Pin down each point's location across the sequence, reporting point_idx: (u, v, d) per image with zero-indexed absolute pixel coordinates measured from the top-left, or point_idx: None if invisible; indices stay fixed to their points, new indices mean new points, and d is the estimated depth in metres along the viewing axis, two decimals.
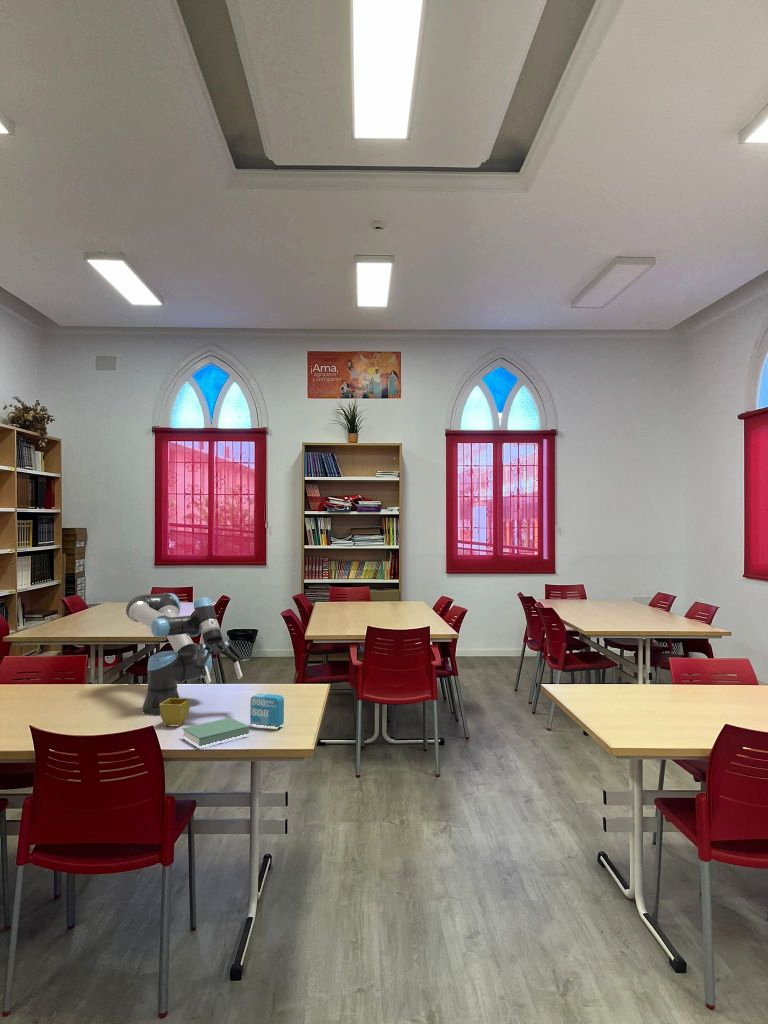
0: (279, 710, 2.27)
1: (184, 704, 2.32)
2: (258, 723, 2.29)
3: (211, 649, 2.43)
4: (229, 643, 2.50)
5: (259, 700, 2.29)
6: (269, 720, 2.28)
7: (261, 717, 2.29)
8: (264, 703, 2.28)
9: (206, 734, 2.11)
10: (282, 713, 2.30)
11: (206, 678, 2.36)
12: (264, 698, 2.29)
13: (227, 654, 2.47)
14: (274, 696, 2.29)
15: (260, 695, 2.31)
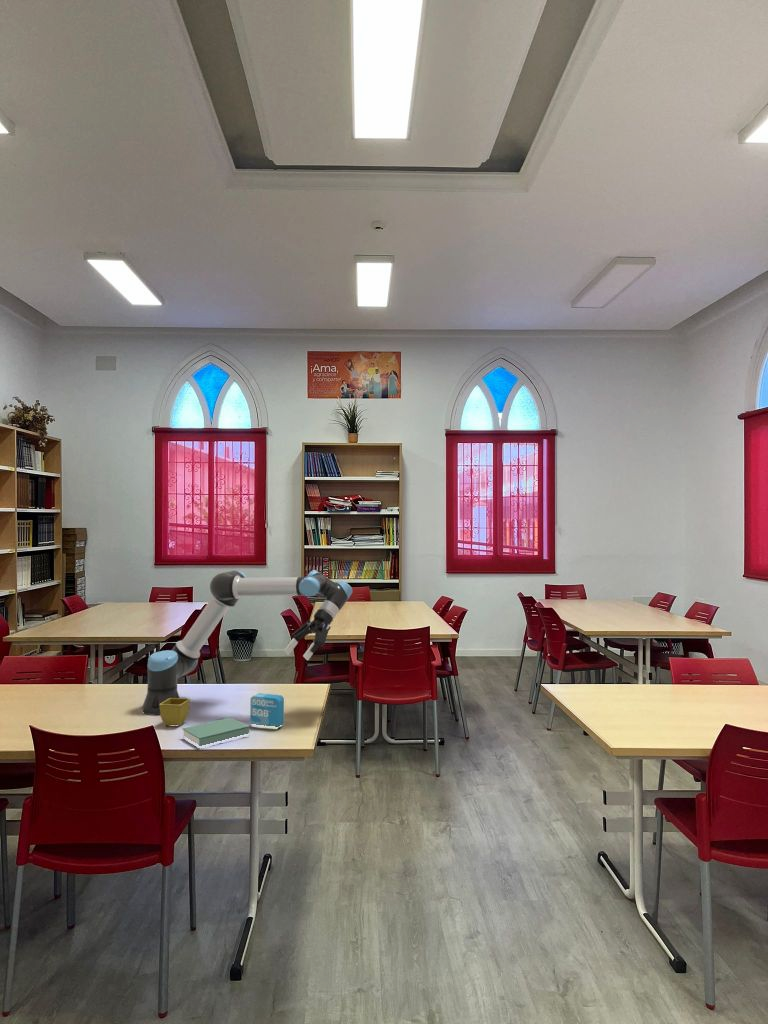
0: (279, 710, 2.27)
1: (184, 704, 2.32)
2: (258, 723, 2.29)
3: None
4: None
5: (259, 700, 2.29)
6: (269, 720, 2.28)
7: (261, 717, 2.29)
8: (264, 703, 2.28)
9: (206, 734, 2.11)
10: (282, 713, 2.30)
11: (308, 653, 2.35)
12: (264, 698, 2.29)
13: (305, 633, 2.48)
14: (274, 696, 2.29)
15: (260, 695, 2.31)
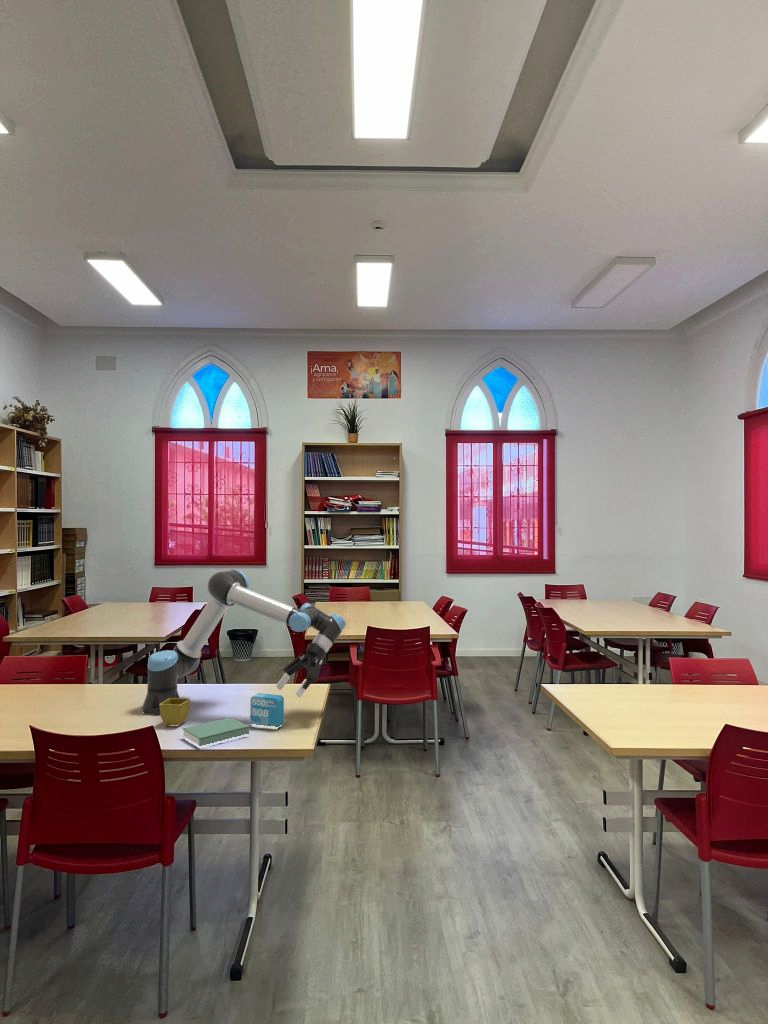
0: (279, 710, 2.27)
1: (184, 704, 2.32)
2: (258, 723, 2.29)
3: None
4: None
5: (259, 700, 2.29)
6: (269, 720, 2.28)
7: (261, 717, 2.29)
8: (264, 703, 2.28)
9: (206, 734, 2.11)
10: (282, 713, 2.30)
11: (301, 690, 2.32)
12: (264, 698, 2.29)
13: (298, 668, 2.44)
14: (274, 696, 2.29)
15: (260, 695, 2.31)
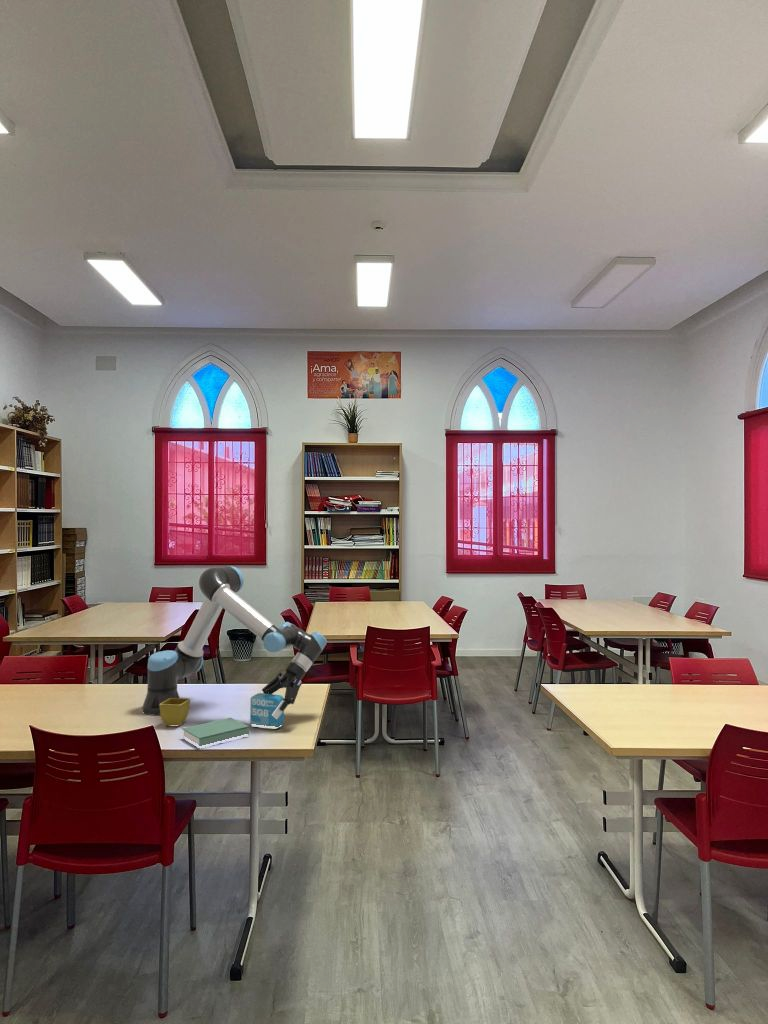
0: None
1: (184, 704, 2.32)
2: (258, 723, 2.29)
3: None
4: None
5: (259, 700, 2.29)
6: (269, 720, 2.28)
7: (261, 716, 2.29)
8: (264, 703, 2.28)
9: (206, 734, 2.11)
10: (282, 713, 2.30)
11: (277, 712, 2.26)
12: (264, 698, 2.29)
13: (277, 688, 2.38)
14: (274, 696, 2.29)
15: (260, 695, 2.31)
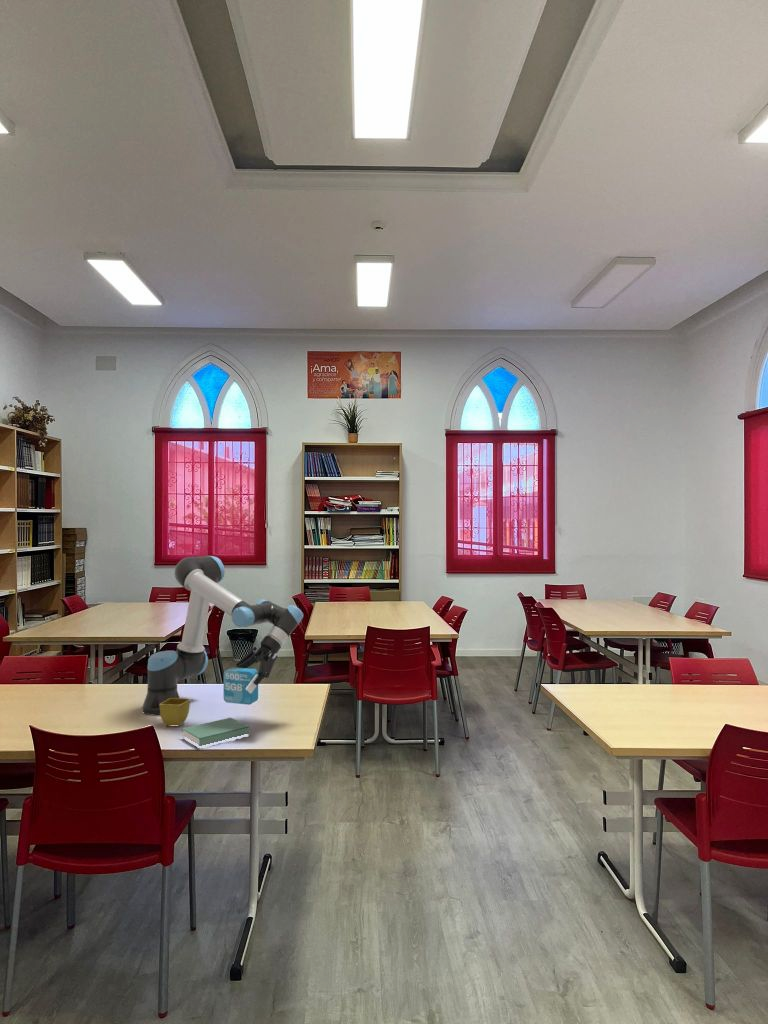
0: None
1: (184, 704, 2.32)
2: (231, 698, 2.21)
3: None
4: None
5: (232, 674, 2.22)
6: (243, 695, 2.20)
7: (234, 691, 2.21)
8: (237, 677, 2.21)
9: (206, 734, 2.11)
10: (256, 687, 2.22)
11: (251, 686, 2.18)
12: (238, 672, 2.21)
13: (251, 662, 2.31)
14: (248, 670, 2.22)
15: (234, 669, 2.23)
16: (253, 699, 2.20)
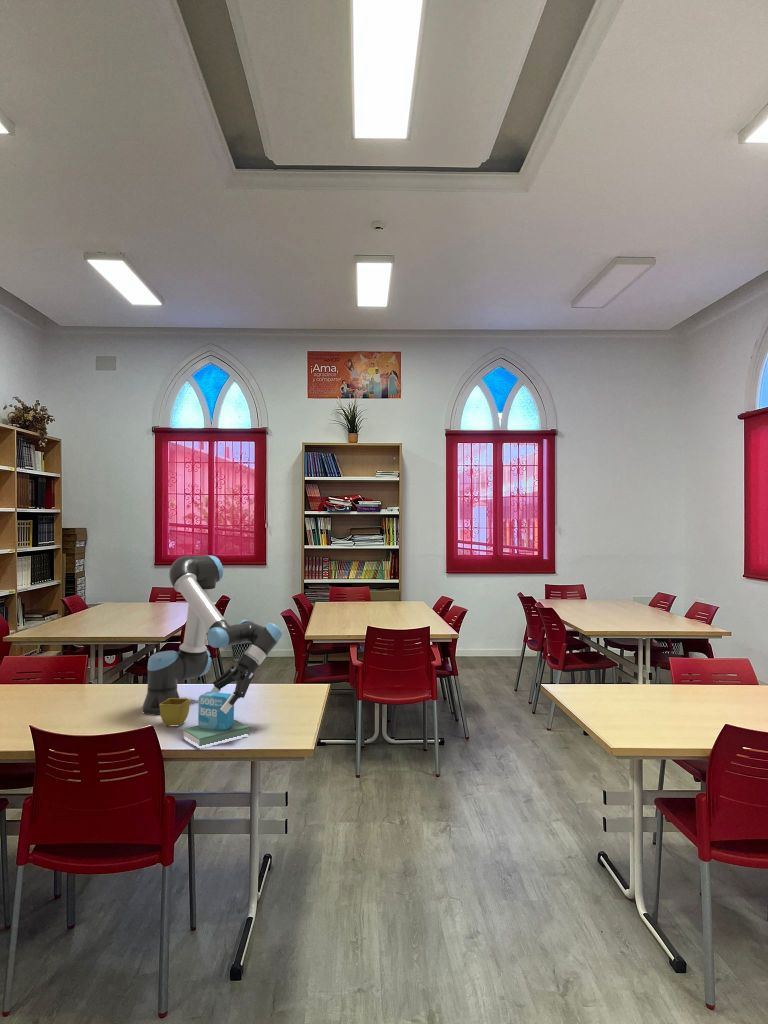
0: None
1: (184, 704, 2.32)
2: (206, 723, 2.17)
3: None
4: None
5: (207, 699, 2.17)
6: (217, 720, 2.16)
7: (209, 716, 2.17)
8: (212, 702, 2.17)
9: (206, 734, 2.11)
10: (232, 713, 2.18)
11: (227, 706, 2.14)
12: (213, 697, 2.17)
13: (228, 681, 2.27)
14: (223, 695, 2.18)
15: (209, 694, 2.19)
16: (228, 725, 2.15)
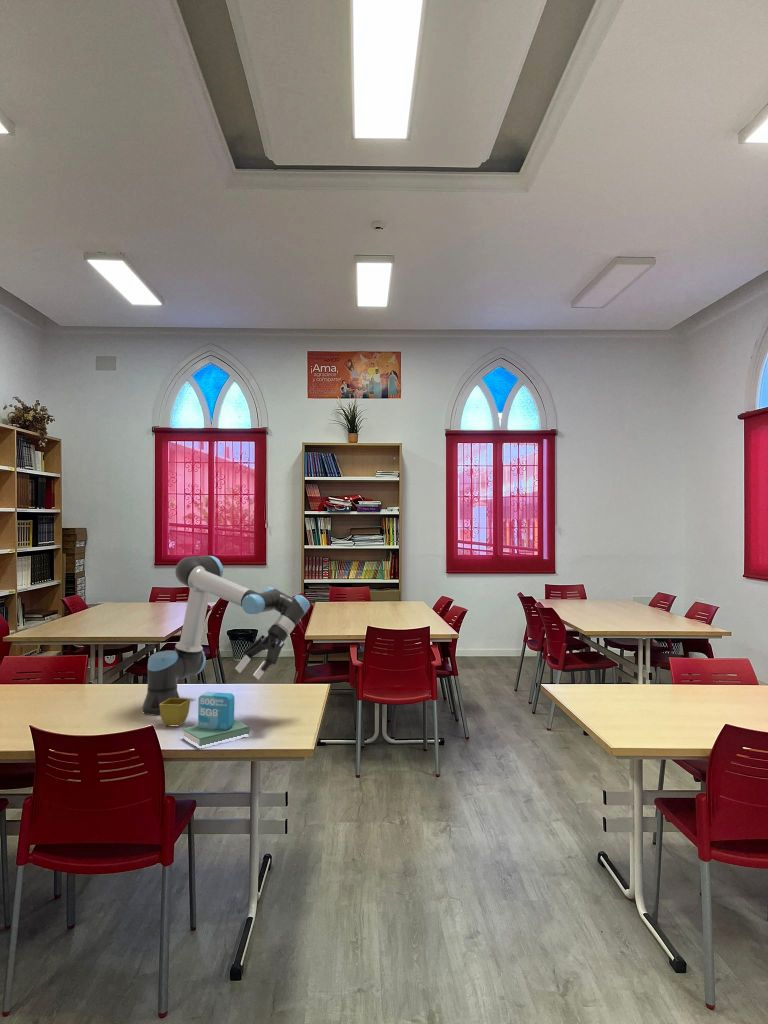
0: (229, 709, 2.16)
1: (184, 704, 2.32)
2: (207, 723, 2.17)
3: None
4: None
5: (207, 699, 2.17)
6: (218, 720, 2.16)
7: (210, 716, 2.17)
8: (213, 702, 2.17)
9: (206, 734, 2.11)
10: (233, 712, 2.19)
11: (259, 672, 2.23)
12: (213, 697, 2.17)
13: (258, 650, 2.36)
14: (224, 694, 2.18)
15: (209, 694, 2.19)
16: (229, 724, 2.16)
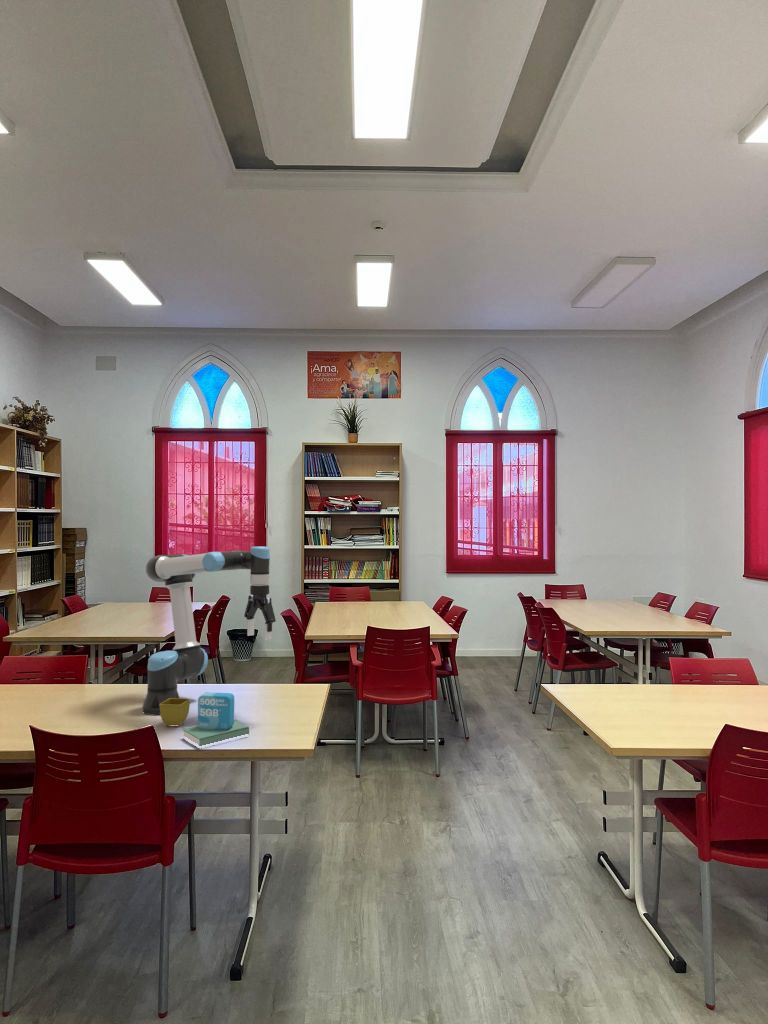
0: (230, 708, 2.17)
1: (184, 704, 2.32)
2: (207, 724, 2.17)
3: None
4: None
5: (208, 699, 2.17)
6: (219, 720, 2.16)
7: (210, 717, 2.17)
8: (213, 702, 2.17)
9: (206, 734, 2.11)
10: (233, 712, 2.19)
11: (268, 634, 2.38)
12: (214, 697, 2.17)
13: (254, 610, 2.47)
14: (224, 694, 2.18)
15: (208, 694, 2.18)
16: (230, 724, 2.16)
